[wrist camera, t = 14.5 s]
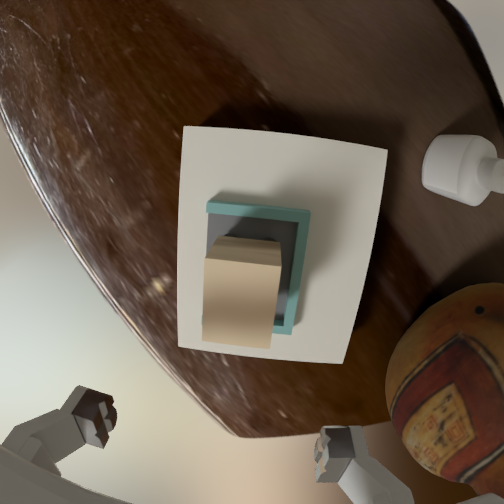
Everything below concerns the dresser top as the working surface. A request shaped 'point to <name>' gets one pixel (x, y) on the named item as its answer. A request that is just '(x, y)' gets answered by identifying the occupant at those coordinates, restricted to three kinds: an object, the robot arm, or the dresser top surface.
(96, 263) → the dresser top surface
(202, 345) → the dock
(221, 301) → the beige wheeled cart
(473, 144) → the eye dropper bottle
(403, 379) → the ceramic pitcher
